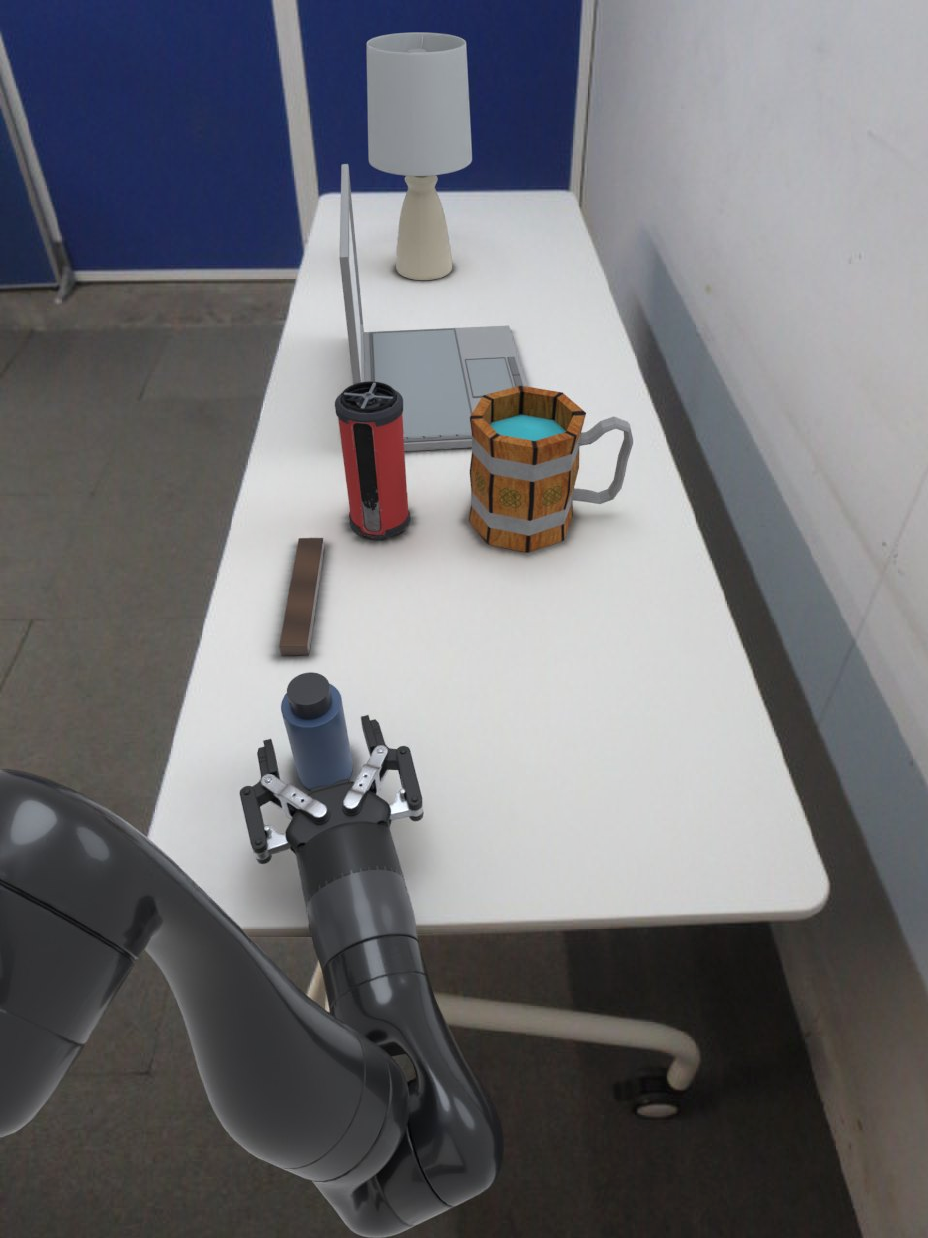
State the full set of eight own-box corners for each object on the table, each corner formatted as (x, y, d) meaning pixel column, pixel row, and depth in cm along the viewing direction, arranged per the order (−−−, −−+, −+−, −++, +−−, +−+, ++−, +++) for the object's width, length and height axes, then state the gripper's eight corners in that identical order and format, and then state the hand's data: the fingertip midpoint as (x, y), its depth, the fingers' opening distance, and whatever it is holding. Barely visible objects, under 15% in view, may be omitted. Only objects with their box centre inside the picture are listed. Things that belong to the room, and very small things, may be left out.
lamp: (475, 252, 164) (477, 31, 138) (467, 290, 151) (467, 55, 125) (385, 249, 165) (370, 29, 139) (369, 287, 152) (349, 53, 126)
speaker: (342, 537, 100) (325, 409, 87) (359, 500, 105) (344, 374, 93) (403, 543, 99) (394, 415, 86) (416, 506, 105) (409, 380, 92)
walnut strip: (309, 655, 86) (307, 645, 85) (281, 655, 86) (278, 646, 85) (324, 546, 99) (323, 537, 98) (300, 547, 99) (298, 537, 98)
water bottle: (331, 801, 74) (314, 721, 65) (286, 778, 75) (264, 697, 67) (363, 760, 77) (351, 679, 68) (319, 738, 78) (302, 656, 70)
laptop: (542, 444, 115) (558, 248, 95) (359, 454, 113) (337, 257, 94) (508, 332, 139) (516, 158, 120) (357, 339, 137) (340, 164, 118)
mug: (472, 555, 98) (474, 450, 87) (464, 489, 107) (464, 387, 96) (631, 547, 99) (652, 443, 88) (609, 483, 108) (625, 381, 98)
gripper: (448, 849, 58) (393, 686, 69) (251, 907, 55) (226, 726, 66) (449, 896, 64) (398, 737, 75) (270, 951, 61) (243, 777, 72)
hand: (317, 732), depth 70 cm, fingers open, 8 cm apart
